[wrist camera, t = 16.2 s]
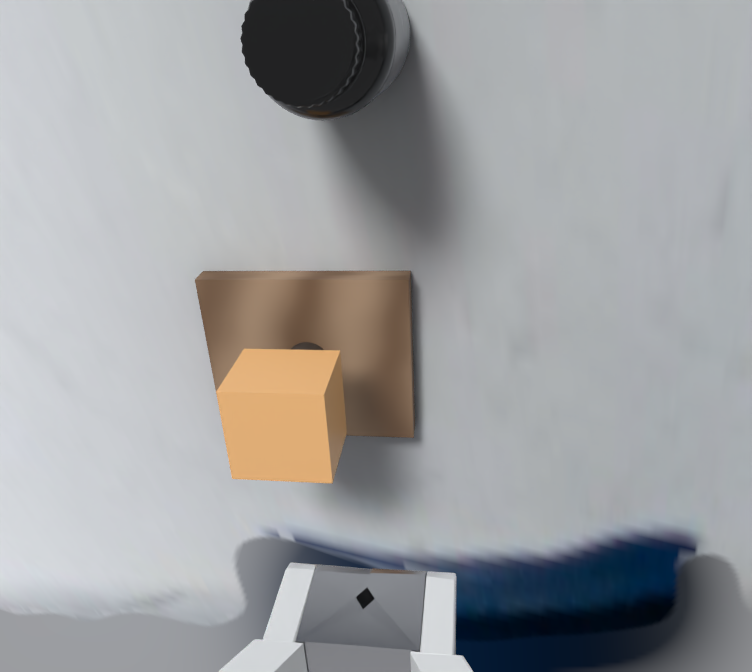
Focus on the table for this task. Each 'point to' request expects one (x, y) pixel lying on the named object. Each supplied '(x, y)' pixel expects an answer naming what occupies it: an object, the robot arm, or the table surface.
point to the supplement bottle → (325, 52)
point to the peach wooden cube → (284, 415)
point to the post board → (322, 333)
